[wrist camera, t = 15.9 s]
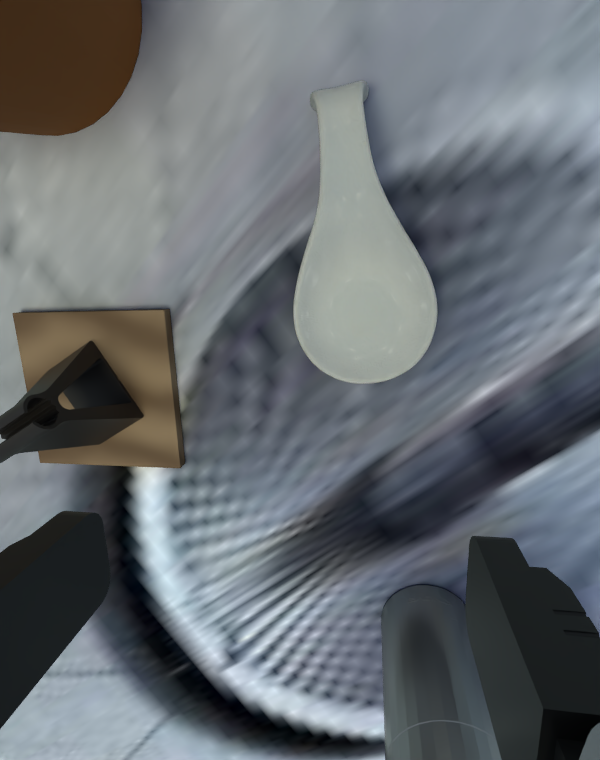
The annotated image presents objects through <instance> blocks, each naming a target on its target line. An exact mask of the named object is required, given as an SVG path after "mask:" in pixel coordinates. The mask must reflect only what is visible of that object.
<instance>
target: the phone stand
mask: <svg viewBox="0 0 600 760" xmlns="http://www.w3.org/2000/svg"><path fill="white" fill-rule="evenodd" d="M62 392H63V393H64V394H65V396H66V397H67V399H68V400H69V402H70V403H71V404H72V406H73V407H74V409H70V410H69V409H65V408H64V407H62V406H61V404H60V403H59V400H58V397H59V395H60V394H61V393H62ZM143 417H144V415H143V413H142V412H141V410H140V409H139V407H138V406H137V404H136V403H135V402H134V400H133V399H132V397H131V396H130V394H129V393H128V391H127V390H126V388H125V387H124V386H123V384H122V383H121V381H119V380H118V377H117V375H116V374H115V372H114V371H113V369H112V368H111V367H110V365H109V364H108V362H107V361H106V359H105V358H104V356H103V355H102V353H101V352H100V351H99V349H98V348H97V346H96V345H95V343H94V342H93V341H89V342H88V343H86V344H85V345H84V346H82V347H81V348H79V349H78V350H77V351H75V352H74V353H72V354H71V355H69V356H68V357H67V358H65V359H64V360H62V361H61V362H60V363H58V364H57V365H55V366H54V367H53V368H51V369H50V370H48V371H47V372H46V373H45V374H44V375H43V376H42V377H41V378H40V379H39V381H38V382H37V383H36V384H35V385H34V386H33V387H32V388H31V389H30V390H29V391H28V392H27V393H26V394H25V395H24V397H23V398H22V399H21V400H20V401H19V402H18V403H17V404H16V405H15V406H14V407H13V408H11V409H10V410H8V411H7V412H5V413H4V414H3V415H1V416H0V434H1V438H2V439H6V440H5V441H4V442H2V443H1V444H0V463H1V462H3V461H5V460H7V459H8V458H10V457H11V456H13V455H15V454H18V453H24V452H33V451H43V450H53V449H62V448H72V447H82V446H91V445H100V444H101V443H103V442H104V441H106V440H108V439H109V438H111V437H113V436H114V435H116V434H117V433H119V432H121V431H122V430H124V429H125V428H127V427H129V426H130V425H132V424H134V423H135V422H137V421H138V420H140V419H142V418H143Z"/></svg>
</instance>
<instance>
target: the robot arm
mask: <svg viewBox="0 0 600 760" xmlns="http://www.w3.org/2000/svg"><path fill="white" fill-rule="evenodd" d="M110 579H111V572H110V565H109V558H108V552H107V545H106V539H105V532H104V526H103V521H102V518H101V517H100V515H99V514H97V513H90V512H73V511H63V512H60V513H59V514H57V515H56V516H54V517H53V518H52V519H51V520H49V521H48V522H47V523H45V524H44V525H43V526H42V527H40V528H39V529H38V530H36V531H35V532H34V533H33V534H31V535H30V536H28V537H26V538H24V539H22V540H20V541H18V542H16V543H14V544H12V545H10V546H8V547H7V548H6V549H5V550H3V551H2V552H1V553H0V729H1V727H2V726H3V725H4V724H5V722H6V721H7V720H8V719H9V717H10V716H11V715H12V714H13V713H14V711H15V710H16V709H17V708H18V706H19V705H20V704H21V703H22V701H23V700H24V699H25V698H26V696H27V695H28V694H29V693H30V691H31V690H32V689H33V688H34V687H35V685H36V684H37V683H38V682H39V680H40V679H41V678H42V677H43V675H44V674H45V673H46V672H47V670H48V669H49V668H50V667H51V665H52V664H53V663H54V662H55V660H56V659H57V658H58V657H59V656H60V654H61V653H62V652H63V651H64V649H65V648H66V647H67V646H68V644H69V643H70V642H71V641H72V639H73V638H74V637H75V636H76V634H77V633H78V632H79V631H80V630H81V628H82V627H83V626H84V625H85V623H86V622H87V621H88V620H89V618H90V617H91V616H92V615H93V613H94V612H95V611H96V610H97V608H98V607H99V606H100V605H101V603H102V602H103V600H104V599H105V597H106V594H107V592H108V589H109V585H110ZM381 629H382V667H383V698H384V729H385V760H600V637H599V632H598V631H597V629H596V628H595V626H594V625H593V623H592V621H591V620H590V618H589V617H586V612H585V610H584V609H583V607H582V606H581V604H580V602H579V601H578V599H577V598H576V596H575V595H574V593H573V591H572V590H571V588H570V587H568V586H567V585H566V584H565V583H564V582H562V581H561V580H560V579H559V578H558V577H556V576H555V575H554V574H553V573H552V572H550V571H549V570H548V569H547V568H539V567H529V566H528V564H527V562H526V560H525V558H524V556H523V554H522V553H521V551H520V549H519V547H518V545H517V543H516V542H515V540H514V539H512V538H499V537H482V536H472V537H471V539H470V544H469V557H468V572H467V587H466V602H465V605H464V603H463V602H462V601H461V600H460V599H459V598H458V597H457V596H455V595H454V594H452V593H451V592H449V591H447V590H445V589H442V588H439V587H435V586H429V585H417V586H412V587H408V588H405V589H403V590H400V591H399V592H397V593H396V594H394V595H393V596H392V597H391V598H390V599H389V600H388V601H387V603H386V604H385V606H384V608H383V611H382V615H381Z"/></svg>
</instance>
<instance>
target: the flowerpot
mask: <svg viewBox="0 0 600 760" xmlns="http://www.w3.org/2000/svg"><path fill="white" fill-rule="evenodd" d="M141 33H142V5H141V0H0V132H12V133H23V134H34V135H52V136H59V135H64V134H69V133H74V132H77V131H79V130H81V129H84V128H86V127H88V126H90V125H92V124H94V123H95V122H96V121H97V120H99V119H100V118H101V117H102V116H104V115H105V114H106V113H107V112H108V111H109V110H110V109H111V108H112V106H113V105H114V104H115V103H116V102H117V100H118V99H119V98H120V97H121V95H122V93H123V91H124V89H125V87H126V86H127V84H128V82H129V80H130V78H131V76H132V73H133V70H134V67H135V63H136V60H137V57H138V54H139V47H140V40H141Z"/></svg>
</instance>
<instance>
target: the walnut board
mask: <svg viewBox="0 0 600 760" xmlns="http://www.w3.org/2000/svg"><path fill="white" fill-rule="evenodd" d="M13 318H14V324H15V329H16V334H17V340H18V345H19V351H20V356H21V361H22V367H23V372H24V378H25V383H26V388H27V392H28V391H29V390H30V389H31V388H32V387H33V386H34V385H35V384H36V383H37V382H38V381H39V379H40V378H41V377H42V376H43V375H44V374H45V373H46V372H47V371H48V370H50V369H51V368H53V367H54V366H55V365H57V364H58V363H60V362H61V361H62V360H64V359H65V358H67V357H68V356H69V355H71V354H72V353H74V352H75V351H77V350H78V349H79V348H81V347H82V346H84V345H85V344H86V343H88V342H89V341H93V342H94V343H95V345H96V346H97V348H98V349H99V351H100V352H101V353H102V355H103V356H104V358H105V359H106V361H107V362H108V364H109V365H110V367H111V368H112V369H113V371H114V372H115V374H116V375H117V377H118V380H119V381H121V383H122V384H123V386H124V387H125V388H126V390H127V391H128V393H129V394H130V396H131V397H132V399H133V400H134V402H135V403H136V404H137V406H138V407H139V409H140V410H141V412H142V413H143V415H144V417H143V418H142V419H140V420H138V421H137V422H135V423H134V424H132V425H130V426H129V427H127V428H125V429H124V430H122V431H121V432H119V433H117V434H116V435H114V436H113V437H111V438H109V439H108V440H106V441H104V442H103V443H101V444H100V445H91V446H82V447H72V448H62V449H53V450H43V451H38V453H39V459H40V463H62V464H87V465H113V466H138V467H163V468H181V467H182V466H183V465H184V464H185V456H184V446H183V437H182V427H181V417H180V407H179V397H178V387H177V377H176V367H175V357H174V347H173V337H172V327H171V318H170V309H153V310H104V311H55V312H19V313H13ZM58 400H59V403H60V404H61V406H62V407H64V408H65V409H69V410H70V409H74V407H73V406H72V404H71V403H70V402H69V400H68V399H67V397H66V396H65V394H64V393H63V392H62V393H61V394H60V395H59V397H58Z"/></svg>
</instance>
